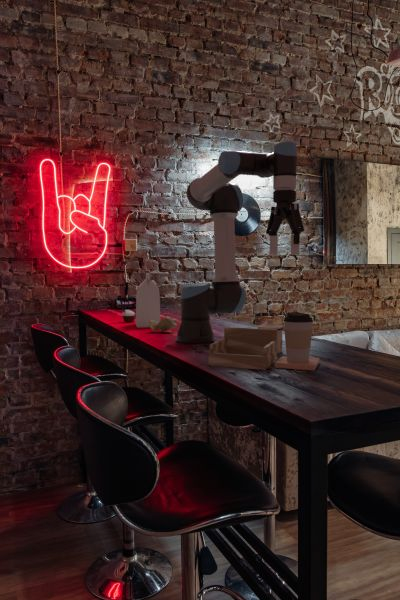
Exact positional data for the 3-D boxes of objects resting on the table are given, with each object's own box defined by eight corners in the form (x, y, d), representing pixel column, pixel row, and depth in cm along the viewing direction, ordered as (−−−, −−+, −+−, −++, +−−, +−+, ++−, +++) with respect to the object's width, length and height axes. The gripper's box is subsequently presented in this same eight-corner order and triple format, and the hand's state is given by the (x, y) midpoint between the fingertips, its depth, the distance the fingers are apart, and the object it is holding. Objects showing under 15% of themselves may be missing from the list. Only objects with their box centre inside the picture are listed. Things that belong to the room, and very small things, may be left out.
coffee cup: (313, 358, 171) (314, 311, 170) (311, 363, 162) (312, 314, 161) (285, 357, 173) (285, 311, 172) (281, 362, 164) (281, 313, 163)
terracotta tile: (281, 360, 175) (281, 356, 175) (319, 362, 172) (319, 358, 171) (274, 367, 164) (274, 362, 164) (314, 370, 160) (314, 365, 160)
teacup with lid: (287, 353, 190) (287, 320, 189) (263, 354, 187) (263, 321, 186) (273, 347, 201) (273, 316, 200) (250, 348, 199) (250, 317, 198)
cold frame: (224, 355, 184) (225, 327, 183) (276, 359, 178) (277, 329, 177) (208, 365, 167) (208, 334, 166) (265, 369, 161) (265, 336, 160)
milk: (135, 324, 272) (135, 273, 270) (158, 323, 274) (157, 273, 272) (137, 327, 260) (136, 273, 259) (160, 326, 263) (160, 273, 261)
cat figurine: (149, 318, 247) (174, 311, 245) (154, 331, 249) (179, 324, 248) (148, 325, 239) (173, 318, 238) (153, 339, 241) (178, 332, 240)
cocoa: (136, 322, 286) (136, 299, 286) (137, 322, 280) (137, 300, 279) (118, 321, 284) (118, 299, 283) (118, 322, 278) (119, 299, 277)
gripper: (316, 186, 167) (314, 254, 169) (275, 194, 190) (274, 254, 192) (295, 185, 164) (294, 254, 166) (256, 193, 187) (256, 254, 189)
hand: (283, 254), depth 179 cm, fingers open, 13 cm apart
